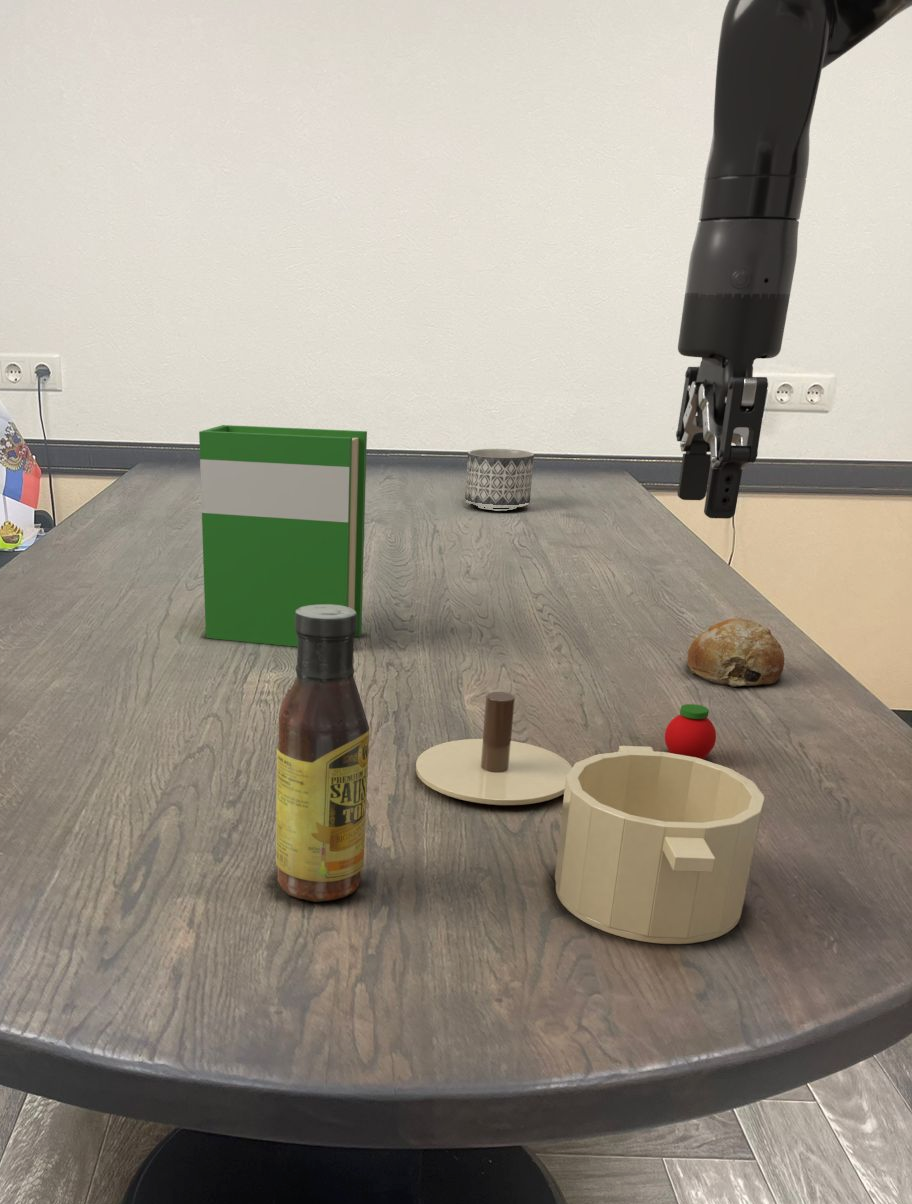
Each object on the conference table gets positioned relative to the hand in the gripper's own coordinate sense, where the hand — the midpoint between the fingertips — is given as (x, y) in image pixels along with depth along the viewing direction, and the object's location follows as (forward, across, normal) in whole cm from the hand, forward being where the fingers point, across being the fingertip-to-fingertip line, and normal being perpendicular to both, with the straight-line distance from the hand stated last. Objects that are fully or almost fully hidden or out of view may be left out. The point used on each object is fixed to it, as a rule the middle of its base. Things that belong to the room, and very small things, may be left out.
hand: (703, 508), depth 90 cm
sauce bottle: (+23, -24, +30) cm, 45 cm away
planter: (+23, +131, +3) cm, 133 cm away
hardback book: (+23, +38, +37) cm, 58 cm away
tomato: (+23, +2, -2) cm, 23 cm away
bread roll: (+23, +28, -14) cm, 38 cm away
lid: (+22, -4, +16) cm, 27 cm away
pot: (+23, -24, +7) cm, 34 cm away
